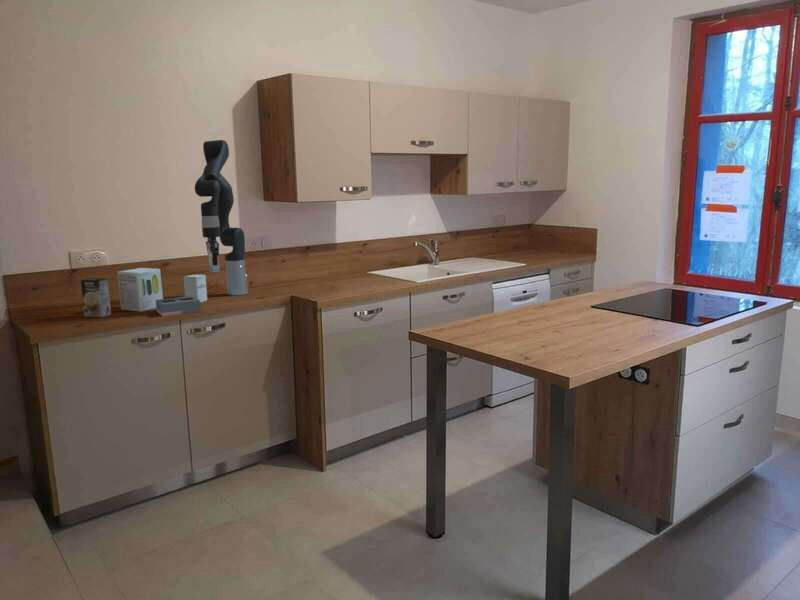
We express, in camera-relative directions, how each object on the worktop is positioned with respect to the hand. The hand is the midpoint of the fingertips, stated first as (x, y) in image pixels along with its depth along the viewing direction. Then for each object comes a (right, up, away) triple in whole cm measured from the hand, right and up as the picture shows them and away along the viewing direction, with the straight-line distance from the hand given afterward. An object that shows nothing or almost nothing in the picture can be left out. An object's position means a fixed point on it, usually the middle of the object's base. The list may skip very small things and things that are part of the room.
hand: (214, 264), depth 283 cm
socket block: (-14, -21, -5) cm, 26 cm away
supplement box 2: (-13, -17, +17) cm, 28 cm away
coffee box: (-47, -23, -9) cm, 53 cm away
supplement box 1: (-34, -20, +6) cm, 40 cm away
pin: (0, -3, +1) cm, 3 cm away
